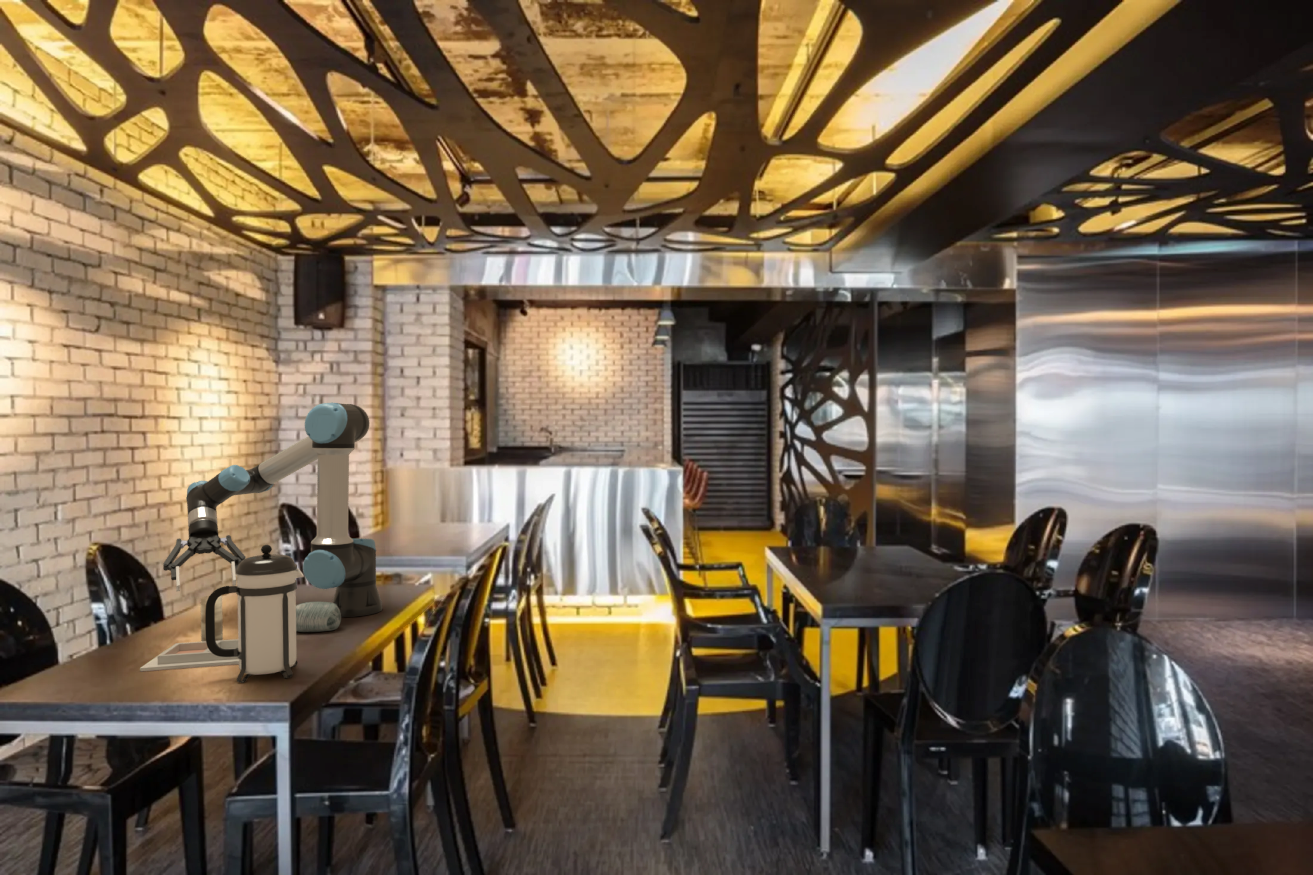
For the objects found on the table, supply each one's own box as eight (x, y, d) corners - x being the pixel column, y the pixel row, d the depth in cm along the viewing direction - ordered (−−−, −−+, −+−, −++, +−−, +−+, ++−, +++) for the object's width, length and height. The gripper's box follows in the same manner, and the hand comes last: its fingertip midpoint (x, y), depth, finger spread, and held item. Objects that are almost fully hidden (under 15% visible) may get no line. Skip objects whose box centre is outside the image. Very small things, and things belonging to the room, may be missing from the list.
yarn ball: (350, 613, 227) (335, 587, 222) (340, 636, 218) (324, 609, 214) (307, 624, 228) (290, 598, 223) (295, 647, 219) (278, 621, 215)
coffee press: (275, 660, 191) (274, 538, 191) (317, 670, 183) (315, 542, 183) (204, 680, 176) (202, 547, 176) (245, 691, 168) (244, 552, 168)
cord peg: (225, 638, 213) (224, 594, 213) (219, 643, 208) (218, 598, 208) (204, 640, 212) (204, 595, 212) (198, 644, 207) (197, 599, 207)
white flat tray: (276, 645, 205) (276, 634, 205) (260, 662, 190) (260, 651, 190) (166, 653, 199) (165, 642, 199) (140, 671, 184) (139, 659, 184)
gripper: (249, 531, 239) (255, 588, 227) (152, 537, 226) (153, 598, 213) (251, 515, 235) (257, 572, 222) (152, 521, 221) (153, 582, 209)
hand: (206, 585), depth 218 cm, fingers open, 13 cm apart
